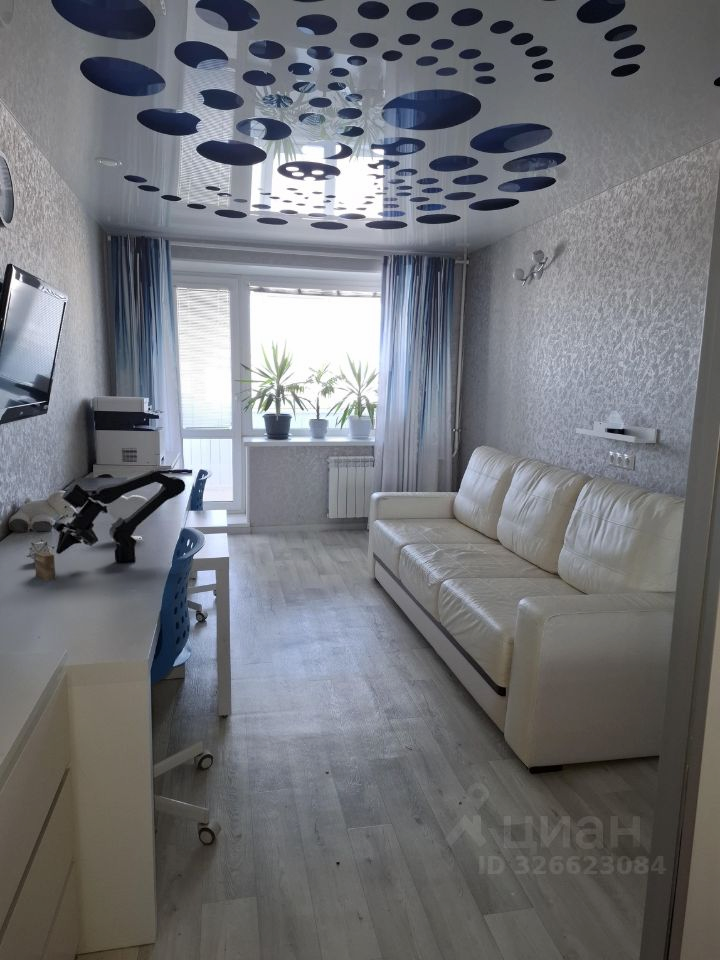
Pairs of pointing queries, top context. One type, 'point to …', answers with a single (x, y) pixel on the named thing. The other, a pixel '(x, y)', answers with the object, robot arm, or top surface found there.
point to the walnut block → (45, 565)
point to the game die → (39, 549)
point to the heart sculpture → (126, 507)
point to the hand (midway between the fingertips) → (57, 553)
